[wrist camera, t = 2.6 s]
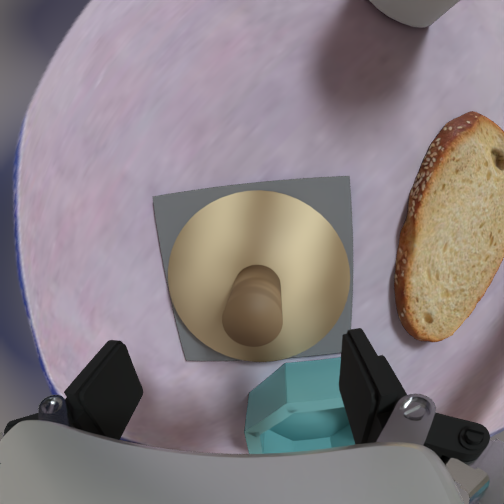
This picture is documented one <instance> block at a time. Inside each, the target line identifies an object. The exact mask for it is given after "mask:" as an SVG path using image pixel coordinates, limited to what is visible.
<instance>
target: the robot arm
mask: <svg viewBox="0 0 504 504" xmlns="http://www.w3.org/2000/svg"><path fill="white" fill-rule="evenodd" d="M339 391H340V394H341V397H342V401H343V404H344V407H345V411H346V414H347V417H348V421H349V424H350V427H351V431H352V434H353V438H354V441H355V445H349V446H341V447H333V448H326V449H318V450H309V451H299V452H286V453H268V454H222V453H204V452H192V451H182V450H173V449H166V448H159V447H153V446H147V445H141V444H136V443H131V442H126V441H122V440H119V439H120V438H121V436H122V434H123V432H124V430H125V428H126V426H127V424H128V422H129V420H130V418H131V416H132V414H133V412H134V411H135V409H136V407H137V405H138V403H139V401H140V399H141V397H142V395H143V389H142V386H141V384H140V381H139V379H138V376H137V374H136V371H135V369H134V366H133V364H132V361H131V358H130V356H129V353H128V350H127V347H126V345H125V344H123V343H122V342H121V341H116V340H109V341H108V342H107V343H106V344H105V345H104V346H103V347H102V349H101V350H100V351H99V352H98V353H97V354H96V355H95V356H94V358H93V359H92V360H91V361H90V362H89V363H88V364H87V366H86V367H85V368H84V369H83V370H82V371H81V373H80V374H79V375H78V376H77V377H76V378H75V380H74V381H73V382H72V383H71V384H70V386H69V387H68V388H67V389H66V390H65V392H64V393H65V394H66V396H67V398H66V399H64V398H63V397H62V396H60V395H51V396H48V397H46V398H45V399H44V400H42V401H41V403H40V405H39V408H38V413H36V414H33V415H30V416H27V417H23V418H20V419H16V420H13V421H10V422H9V423H8V424H7V426H6V428H5V430H4V434H3V433H0V504H464V502H463V500H462V497H461V495H460V493H459V490H458V488H457V486H456V484H455V482H454V481H456V482H458V483H459V484H461V486H460V488H462V489H464V490H465V491H466V492H467V493H468V494H469V498H470V500H469V504H504V443H503V442H502V441H500V440H498V439H496V440H495V441H492V440H490V435H489V432H488V430H487V429H486V428H485V427H484V426H483V425H481V424H478V423H475V422H470V421H466V420H462V419H458V418H454V417H450V416H446V415H443V414H439V413H435V410H436V407H435V404H434V402H433V401H432V399H430V398H429V397H427V396H425V395H422V394H409V395H407V394H406V392H405V390H404V389H403V387H402V385H401V383H400V382H399V380H398V378H397V376H396V375H395V373H394V371H393V370H392V368H391V366H390V365H389V363H388V361H387V360H386V358H385V357H384V356H383V355H381V356H377V354H376V352H375V350H374V349H373V347H372V345H371V344H370V342H369V340H368V338H367V337H366V335H365V333H364V332H363V330H362V329H361V328H358V329H351V330H348V331H347V334H343V336H342V350H341V364H340V375H339Z"/></svg>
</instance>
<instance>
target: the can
mask: <svg viewBox="0 0 504 504" xmlns="http://www.w3.org/2000/svg"><path fill="white" fill-rule="evenodd" d="M369 1H370V2H371V3H372V4H373V5H374V6H375V7H376V8H378V9H379V10H380V11H381V12H383V13H384V14H385V15H387V16H388V17H390V18H392V19H394V20H396V21H399V22H400V23H403V24H406V25H409V26H412V27H421V28H424V27H427V26H430V25H432V24H433V23H434V22H435V21H436V20H437V19H438V18H440V17H441V16H442V15H443V14H444V13H446V12H447V11H448V10H449V9H450V8H451V7H453V6H454V5H455V4H456V3H457V2H459V1H460V0H369Z"/></svg>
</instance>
